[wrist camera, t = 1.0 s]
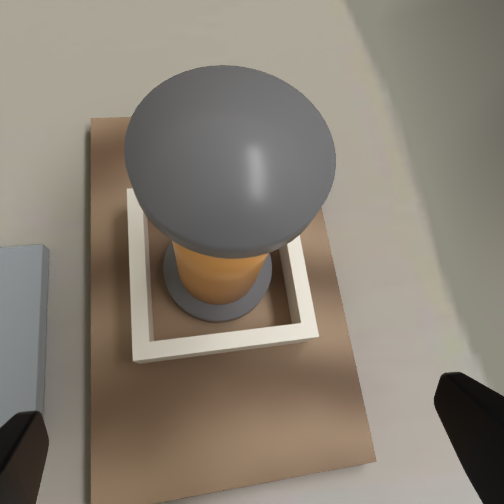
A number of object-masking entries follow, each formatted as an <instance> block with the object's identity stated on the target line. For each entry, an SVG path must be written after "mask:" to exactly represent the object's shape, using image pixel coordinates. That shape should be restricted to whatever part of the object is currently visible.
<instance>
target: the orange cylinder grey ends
mask: <svg viewBox="0 0 504 504" xmlns="http://www.w3.org/2000/svg"><path fill="white" fill-rule="evenodd" d="M124 157H125V165H126V169H127V173H128V176H129V179H130V182H131V185H132V188H133V191H134V194H135V196H136V198H137V201H138V203H139V205H140V207H141V209H142V210H143V212H144V213H145V215H146V217H147V218H148V219H149V220H150V221H151V223H152V224H153V225H154V226H155V227H156V228H157V229H158V230H159V231H160V232H161V233H163V234H164V235H165V236H166V237H168V238H169V239H171V240H172V241H171V242H170V244H169V246H168V248H167V250H166V253H165V257H164V263H163V272H164V279H165V282H166V286H167V288H168V291H169V293H170V295H171V297H172V299H173V300H174V302H175V303H176V304H177V305H178V307H180V308H181V309H182V310H183V311H184V312H185V313H187V314H188V315H190V316H192V317H194V318H196V319H198V320H201V321H205V322H210V323H225V322H230V321H234V320H237V319H239V318H241V317H243V316H245V315H246V314H248V313H249V312H251V311H252V310H253V309H254V308H255V307H256V306H257V305H258V304H259V302H260V301H261V299H262V298H263V296H264V295H265V293H266V291H267V289H268V287H269V284H270V281H271V276H272V261H271V257H270V252H272V251H275V250H277V249H279V248H281V247H283V246H285V245H286V244H288V243H290V242H291V241H293V240H294V239H295V238H296V237H298V236H299V235H300V234H301V233H302V232H303V231H304V230H305V229H306V228H307V227H308V226H309V225H310V223H311V222H312V220H313V219H314V217H315V216H316V214H317V213H318V211H319V210H320V208H321V206H322V205H323V203H324V202H325V200H326V198H327V196H328V194H329V192H330V190H331V187H332V184H333V180H334V176H335V169H336V154H335V147H334V142H333V139H332V136H331V133H330V131H329V128H328V126H327V124H326V122H325V120H324V119H323V117H322V116H321V114H320V112H319V111H318V110H317V109H316V107H315V106H314V105H313V104H312V103H311V102H310V101H309V100H308V99H307V98H306V97H305V96H304V95H303V94H302V93H301V92H299V91H298V90H297V89H295V88H294V87H293V86H291V85H289V84H288V83H286V82H285V81H283V80H281V79H279V78H277V77H275V76H273V75H270V74H267V73H264V72H262V71H259V70H255V69H251V68H246V67H239V66H226V65H219V66H207V67H201V68H196V69H192V70H189V71H185V72H183V73H180V74H178V75H175V76H173V77H171V78H169V79H168V80H166V81H164V82H162V83H161V84H160V85H158V86H157V87H156V88H154V89H153V90H152V91H151V92H150V93H149V94H148V95H147V96H146V97H145V98H144V99H143V100H142V101H141V103H140V104H139V105H138V106H137V108H136V110H135V112H134V113H133V115H132V117H131V119H130V122H129V125H128V127H127V131H126V136H125V142H124Z"/></svg>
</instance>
